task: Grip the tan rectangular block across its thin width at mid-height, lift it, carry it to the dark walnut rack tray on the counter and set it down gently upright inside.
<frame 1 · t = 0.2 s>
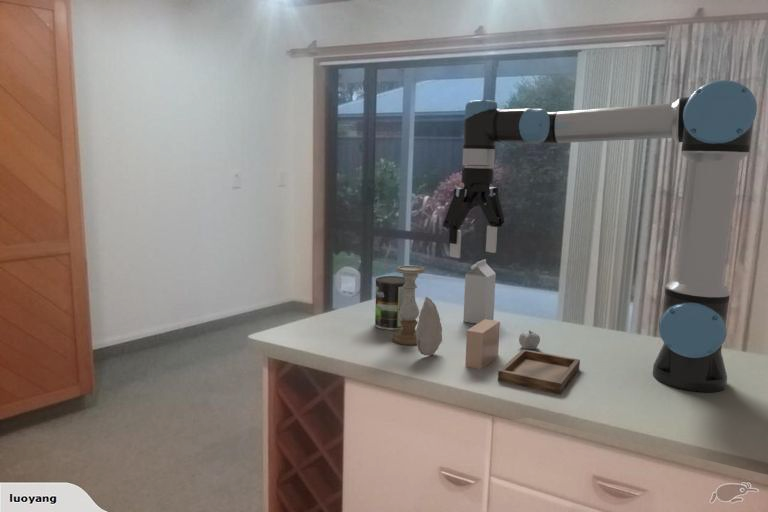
hand: (473, 254, 142), 26 cm above the worktop, fingers open, 13 cm apart
candle holder: (408, 341, 159), on the worktop
rack tray: (539, 374, 135), on the worktop
milk carton: (478, 321, 179), on the worktop
garlic: (528, 349, 154), on the worktop
stone tool: (428, 355, 147), on the worktop
tan rectangular block: (482, 360, 144), on the worktop
coffee can: (392, 326, 173), on the worktop
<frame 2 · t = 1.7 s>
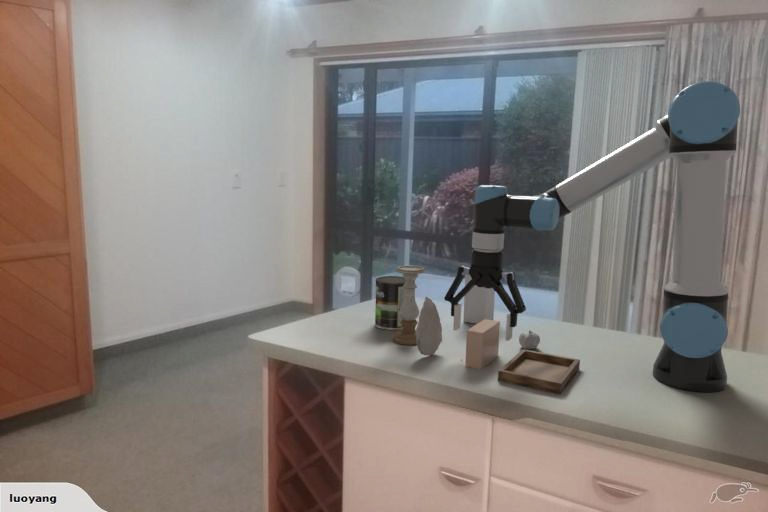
hand: (482, 334, 143), 7 cm above the worktop, fingers open, 13 cm apart
nothing on the worktop moved.
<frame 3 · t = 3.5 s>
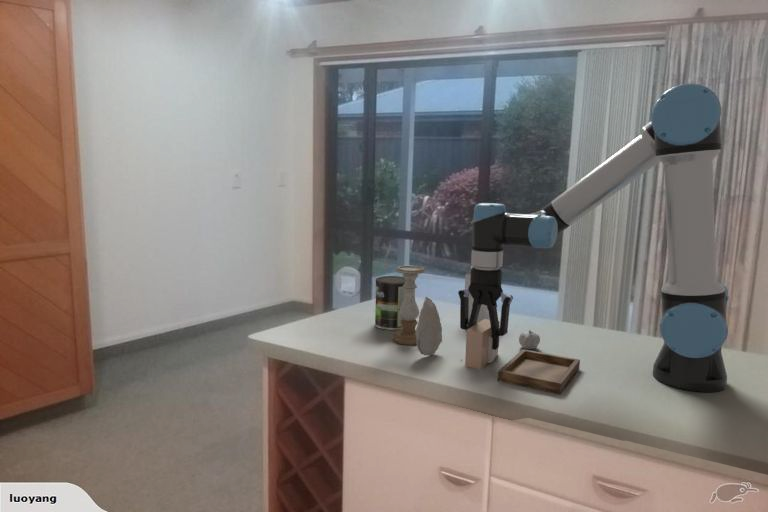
hand: (481, 359, 144), 0 cm above the worktop, fingers closed on tan rectangular block, 4 cm apart
tan rectangular block: (481, 360, 144), on the worktop, touching gripper
everything else where it was.
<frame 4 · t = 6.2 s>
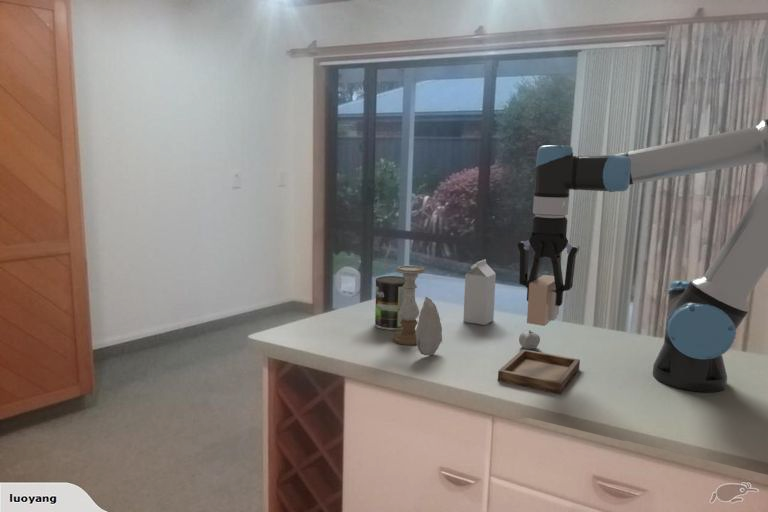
hand: (543, 317, 133), 14 cm above the worktop, fingers closed on tan rectangular block, 4 cm apart
tan rectangular block: (543, 318, 133), point 14 cm above the worktop, touching gripper
everything else where it was.
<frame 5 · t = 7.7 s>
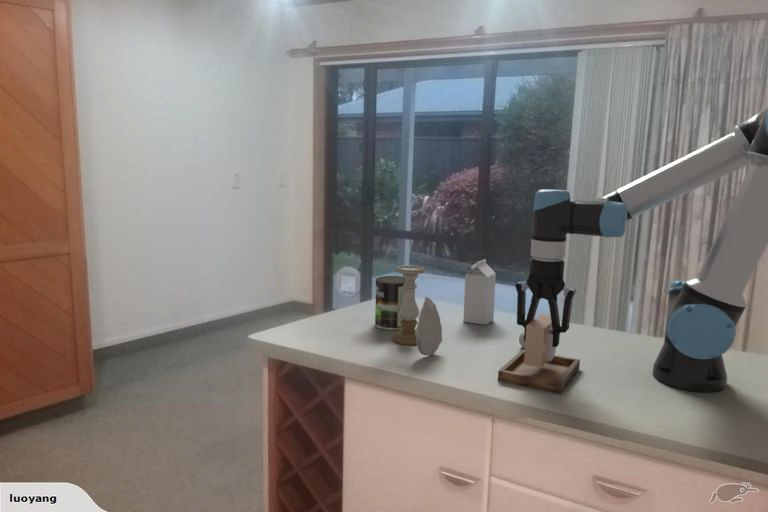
hand: (540, 357, 134), 4 cm above the worktop, fingers closed on tan rectangular block, 4 cm apart
tan rectangular block: (540, 358, 134), point 4 cm above the worktop, touching gripper
everything else where it was.
when the fingers open (2 cm above the worktop, at t = 8.8 s): tan rectangular block drops 1 cm, resting on rack tray.
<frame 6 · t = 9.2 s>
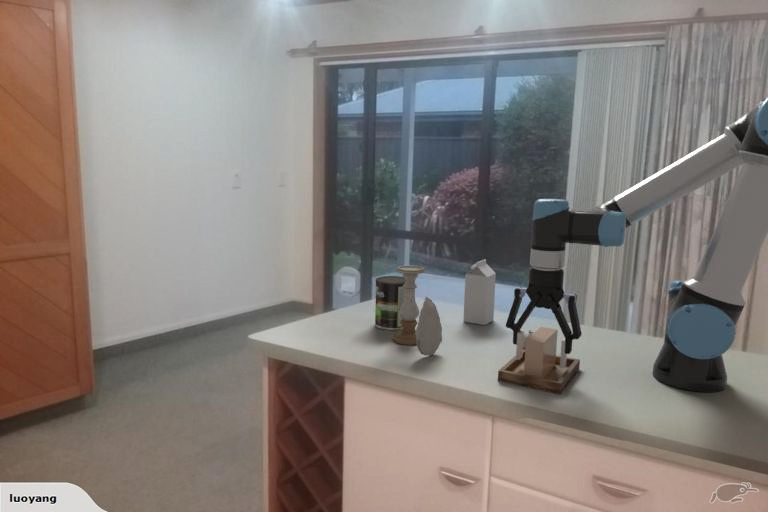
hand: (540, 362, 135), 3 cm above the worktop, fingers open, 9 cm apart
tan rectangular block: (539, 371, 135), point 1 cm above the worktop, touching rack tray
everything else where it was.
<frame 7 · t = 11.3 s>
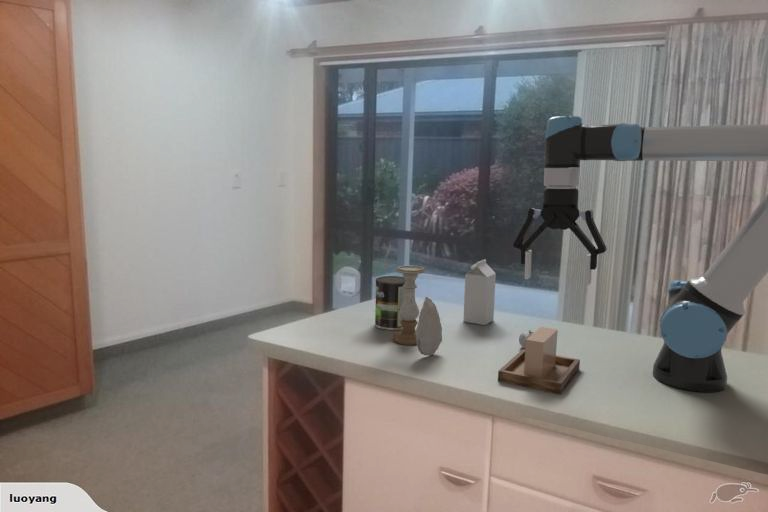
hand: (557, 281, 132), 22 cm above the worktop, fingers open, 13 cm apart
nothing on the worktop moved.
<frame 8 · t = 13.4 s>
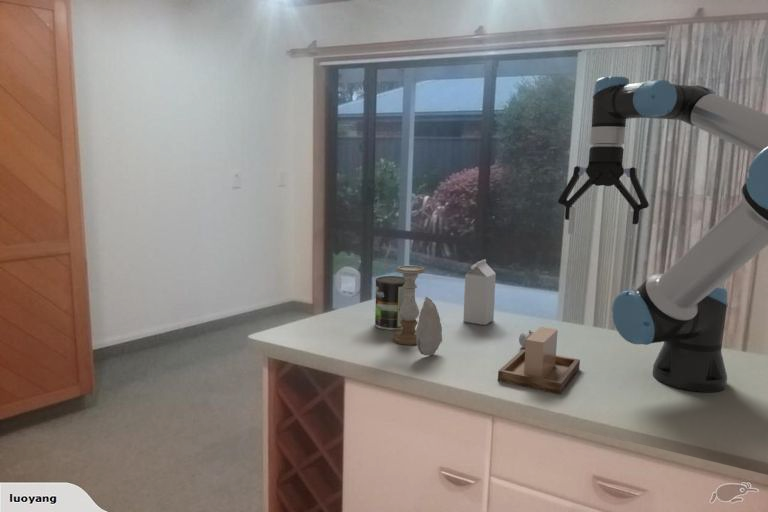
hand: (599, 235, 139), 32 cm above the worktop, fingers open, 13 cm apart
nothing on the worktop moved.
at the end: tan rectangular block inside the target area on the rack tray (0.0 cm from its centre), point 0.8 cm above the rack tray's base; tan rectangular block tilted 0°; the gripper is holding nothing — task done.
